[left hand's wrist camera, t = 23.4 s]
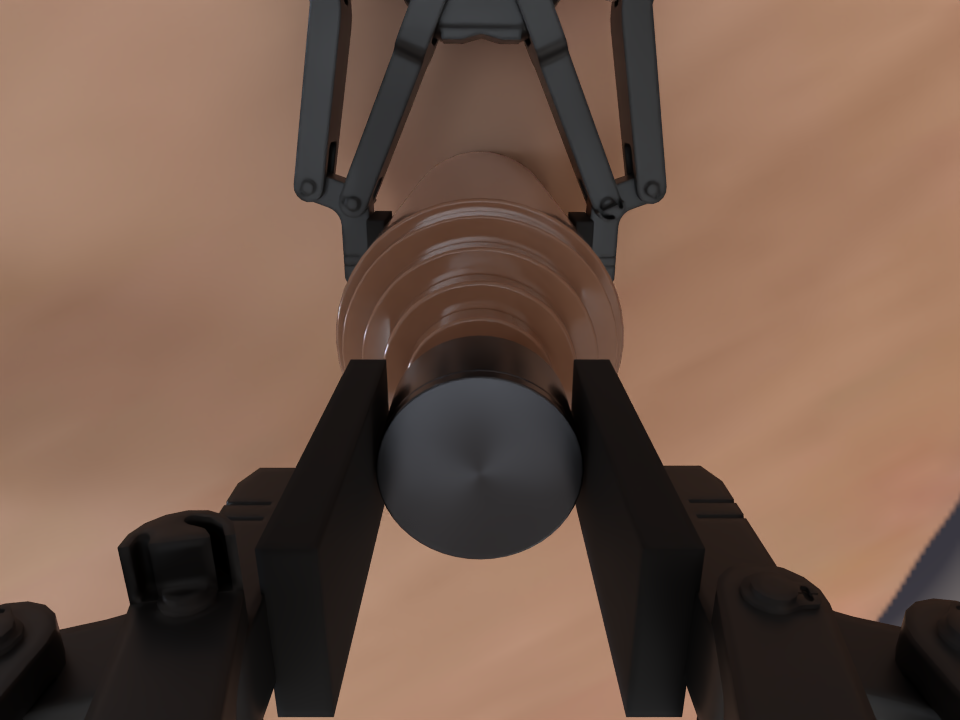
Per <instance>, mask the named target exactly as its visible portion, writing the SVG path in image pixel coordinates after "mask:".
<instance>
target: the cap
mask: <svg viewBox="0 0 960 720" xmlns="http://www.w3.org/2000/svg"><path fill="white" fill-rule="evenodd" d="M583 476H584V458H583V452H582V447H581V444H580V440H579V437H578V433H577V430H576V427H575V423H574V420H573V417H572V413H571V410H570V406H569V403H568V400H567V396H566V393H565V390H564V388H563V386H562V384H561V382H560V380H559V378H558V376H557V375H556V373H555V372H554V371H553V369H552V368H551V367H550V366H549V365H548V364H547V363H546V361H545V360H543V359H542V358H541V357H540V356H539V355H537V354H536V353H535V352H533V351H532V350H530V349H528V348H527V347H525V346H523V345H521V344H518V343H516V342H514V341H511V340H507V339H504V338H499V337H494V336H480V335H478V336H466V337H461V338H456V339H452V340H449V341H446V342H443V343H441V344H439V345H437V346H435V347H433V348H431V349H430V350H428V351H427V352H425V353H424V354H422V355H421V356H420V357H419V358H418V359H417V360H415V361H414V362H413V363H412V365H411V366H410V367H409V368H408V369H407V370H406V372H405V373H404V375H403V376H402V378H401V379H400V381H399V383H398V385H397V387H396V390H395V393H394V396H393V399H392V403H391V406H390V409H389V413H388V416H387V420H386V423H385V426H384V430H383V433H382V436H381V440H380V443H379V447H378V451H377V457H376V477H377V484H378V488H379V491H380V495H381V497H382V499H383V502H384V504H385V506H386V508H387V509H388V511H389V513H390V514H391V516H392V517H393V519H394V520H395V521H396V522H397V523H398V524H399V526H400V527H401V528H402V529H403V530H404V531H406V532H407V533H408V534H409V535H410V536H411V537H413V538H414V539H416V540H417V541H418V542H420V543H422V544H423V545H425V546H427V547H429V548H431V549H433V550H436V551H438V552H441V553H444V554H447V555H451V556H454V557H460V558H467V559H494V558H500V557H505V556H509V555H513V554H516V553H519V552H522V551H524V550H526V549H529V548H531V547H533V546H535V545H536V544H538V543H540V542H542V541H543V540H544V539H546V538H547V537H548V536H550V535H551V534H552V533H553V532H554V531H555V530H556V529H557V528H559V527H560V526H561V524H562V523H563V522H564V521H565V519H566V518H567V517H568V516H569V514H570V512H571V511H572V509H573V507H574V506H575V504H576V501H577V499H578V497H579V494H580V491H581V487H582V483H583Z"/></svg>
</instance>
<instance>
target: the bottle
mask: <svg viewBox="0 0 960 720" xmlns="http://www.w3.org/2000/svg"><path fill="white" fill-rule="evenodd" d="M623 334H624V327H623V318H622V310H621V306H620V302H619V299H618V295H617V292H616V289H615V287H614V284H613V282H612V280H611V277H610V275H609V273H608V272H607V270H606V268H605V267H604V265H603V263H602V262H601V260H600V258H599V257H598V256H597V255H596V253H595V252H594V251H593V249H592V248H591V247H590V246H589V244H588V243H587V242H586V240H585V239H584V238H583V236H582V235H581V234H580V233H579V231H578V230H577V229H576V227H575V226H574V225H573V224H572V222H571V221H570V220H569V218H568V217H567V216H566V214H565V213H564V212H563V211H562V209H561V208H560V207H559V205H558V204H557V203H556V202H555V200H554V199H553V198H552V196H551V195H550V194H549V193H548V191H547V190H546V189H545V187H544V186H543V185H542V183H541V182H540V181H539V180H538V178H537V177H536V176H535V175H534V174H533V173H532V172H531V171H530V170H529V169H528V168H526V167H525V166H523V165H522V164H521V163H519V162H517V161H515V160H514V159H512V158H509V157H507V156H504V155H501V154H497V153H492V152H482V151H479V152H468V153H463V154H459V155H456V156H453V157H450V158H448V159H446V160H444V161H442V162H441V163H439V164H438V165H436V166H435V167H433V168H432V169H431V170H430V171H429V172H428V173H427V174H426V175H425V176H424V177H423V178H422V180H421V181H420V182H419V183H418V185H417V186H416V187H415V188H414V190H413V191H412V192H411V194H410V195H409V196H408V197H407V199H406V200H405V201H404V203H403V204H402V205H401V206H400V208H399V209H398V210H397V212H396V213H395V214H394V215H393V217H392V218H391V219H390V221H389V222H388V223H387V225H386V226H385V227H384V228H383V230H382V231H381V232H380V234H379V235H378V236H377V237H376V239H375V240H374V241H373V243H372V244H371V245H370V246H369V248H368V249H367V250H366V252H365V253H364V254H363V256H362V257H361V258H360V260H359V262H358V263H357V265H356V266H355V268H354V270H353V271H352V273H351V275H350V277H349V280H348V282H347V284H346V286H345V288H344V291H343V295H342V298H341V302H340V305H339V310H338V317H337V324H336V343H337V351H338V358H339V363H340V366H341V370H342V374H343V373H344V371H345V369H346V367H347V365H348V363H349V361H350V360H351V359H386V363H387V383H388V402H389V409H390V406H391V403H392V399H393V396H394V393H395V390H396V387H397V385H398V383H399V381H400V379H401V378H402V376H403V375H404V373H405V372H406V370H407V369H408V368H409V367H410V366H411V365H412V363H413V362H414V361H415V360H417V359H418V358H419V357H420V356H421V355H422V354H424V353H425V352H427V351H428V350H430V349H431V348H433V347H435V346H437V345H439V344H441V343H443V342H446V341H449V340H452V339H456V338H461V337H466V336H478V335H480V336H494V337H499V338H504V339H507V340H511V341H514V342H516V343H518V344H521V345H523V346H525V347H527V348H528V349H530V350H532V351H533V352H535V353H536V354H537V355H539V356H540V357H541V358H542V359H543V360H545V361H546V363H547V364H548V365H549V366H550V367H551V368H552V369H553V371H554V372H555V373H556V375H557V376H558V378H559V380H560V382H561V384H562V386H563V388H564V390H565V393H566V396H567V400H568V403H569V406H570V410H571V402H572V383H573V363H574V359H610V361H611V363H612V365H613V367H614V369H615V371H616V373H618V370H619V366H620V363H621V357H622V350H623Z"/></svg>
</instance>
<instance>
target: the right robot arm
mask: <svg viewBox="0 0 960 720" xmlns="http://www.w3.org/2000/svg"><path fill="white" fill-rule="evenodd" d="M404 1H405V3H406V4H407V6H408V9H407V11H406V14H405V17H404V19H403V22H402V25H401V28H400V30H399V33H398V36H397V39H396V42H395V47H394V51H393V54H392V57H391V60H390V62H389V65H388V68H387V70H386V73H385V76H384V78H383V81H382V84H381V86H380V89H379V92H378V94H377V97H376V100H375V103H374V105H373V108H372V111H371V113H370V116H369V119H368V121H367V124H366V127H365V129H364V132H363V135H362V137H361V140H360V143H359V145H358V148H357V151H356V154H355V156H354V159H353V162H352V164H351V167H350V170H349V172H348V175H347V178H344V177H342V176H339V175H336V174H335V173H336V164H337V155H338V145H339V136H340V127H341V118H342V109H343V100H344V91H345V82H346V72H347V63H348V54H349V45H350V36H351V24H352V9H351V0H310V9H309V20H308V31H307V42H306V53H305V65H304V76H303V87H302V98H301V109H300V121H299V132H298V143H297V154H296V166H295V177H294V191H295V193H296V195H297V196H298V197H299V198H300V199H301V200H303V201H306V202H315V203H318V204H321V205H323V206H326V207H329V208H331V209H333V210H334V211H335V212H336V213H337V214H338V216H339V217H340V219H341V223H342V235H343V251H344V264H345V278H346V281H347V282H348V280H349V277H350V275H351V273H352V271H353V270H354V268H355V266H356V265H357V263H358V262H359V260H360V258H361V257H362V256H363V254H364V253H365V252H366V250H367V249H368V248H369V246H370V245H371V244H372V243H373V241H374V240H375V239H376V237H377V236H378V235H379V234H380V232H381V231H382V230H383V228H384V227H385V226H386V225H387V223H388V222H389V221H390V219H391V218H392V211H375V212H374V203H375V202H376V196H377V194H378V191H379V189H380V186H381V184H382V181H383V178H384V176H385V173H386V171H387V168H388V166H389V163H390V161H391V158H392V155H393V153H394V150H395V148H396V145H397V143H398V140H399V138H400V135H401V132H402V130H403V127H404V125H405V122H406V120H407V117H408V115H409V112H410V109H411V107H412V104H413V102H414V99H415V97H416V94H417V92H418V89H419V86H420V84H421V81H422V79H423V76H424V74H425V71H426V69H427V66H428V65H429V63H430V61H431V58H432V56H433V53H434V51H435V48H436V46H437V43H438V41H439V40H440V41H443V43H444V44H463V43H467V42H470V41H473V40H477V39H485V40H489V41H492V42H495V43H499V44H519V42H521V41H524V43H525V46H526V48H527V51H528V53H529V56H530V59H531V61H532V63H533V65H534V67H535V69H536V72H537V74H538V77H539V80H540V82H541V85H542V88H543V90H544V93H545V96H546V98H547V101H548V103H549V106H550V109H551V111H552V114H553V117H554V119H555V122H556V125H557V127H558V130H559V133H560V135H561V138H562V140H563V143H564V146H565V148H566V151H567V154H568V156H569V159H570V162H571V164H572V167H573V170H574V172H575V175H576V178H577V180H578V183H579V185H580V188H581V191H582V193H583V196H584V199H585V201H586V204H587V206H586V213H585V212H569V213H568V218H569V220H570V221H571V222H572V224H573V225H574V226H575V227H576V229H577V230H578V231H579V233H580V234H581V235H582V236H583V238H584V239H585V240H586V242H587V243H588V244H589V246H590V247H591V248H592V249H593V251H594V252H595V253H596V255H597V256H598V257H599V258H600V260H601V262H602V263H603V265H604V267H605V268H606V270H607V272H608V273H609V275H610V277H611V280H612V282H613V281H614V274H615V261H616V248H617V235H618V225H619V221H620V219H621V217H622V216H623V215H624V214H625V213H626V212H627V211H629V210H631V209H633V208H636V207H639V206H642V205H644V204H654V203H657V202H659V201H660V200H661V199H662V198H663V197H664V195H665V193H666V187H667V186H666V173H665V160H664V147H663V134H662V122H661V109H660V96H659V83H658V70H657V57H656V44H655V31H654V18H653V5H652V4H653V0H607V1H609V2H612V5H611V18H610V20H611V36H612V47H613V57H614V67H615V77H616V87H617V98H618V108H619V118H620V128H621V139H622V149H623V159H624V169H625V176H623V177H620V178H618V179H615V180H614V177H613V174H612V171H611V169H610V166H609V163H608V160H607V157H606V155H605V152H604V149H603V146H602V143H601V141H600V138H599V135H598V132H597V130H596V127H595V124H594V121H593V118H592V116H591V113H590V110H589V107H588V105H587V102H586V99H585V96H584V93H583V91H582V88H581V85H580V82H579V79H578V77H577V74H576V71H575V68H574V66H573V63H572V60H571V57H570V54H569V51H568V46H567V41H566V38H565V35H564V32H563V30H562V27H561V24H560V21H559V18H558V16H557V13H556V10H555V7H556V5H557V4H558V2H559V1H560V0H404Z"/></svg>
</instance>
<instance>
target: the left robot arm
mask: <svg viewBox="0 0 960 720" xmlns="http://www.w3.org/2000/svg"><path fill="white" fill-rule="evenodd" d="M388 413H389V402H388V383H387V363H386V359H351V360H350V361H349V363H348V365H347V367H346V369H345V371H344V373H343V375H342V377H341V379H340V381H339V383H338V385H337V387H336V389H335V391H334V393H333V395H332V397H331V399H330V401H329V403H328V405H327V407H326V409H325V411H324V413H323V415H322V417H321V419H320V421H319V423H318V425H317V427H316V429H315V431H314V433H313V435H312V436H311V438H310V440H309V442H308V444H307V446H306V448H305V450H304V452H303V454H302V456H301V458H300V460H299V462H298V464H297V466H296V468H259V469H258V470H256V471H255V472H254V473H252V474H251V475H249V476H248V477H247V478H245V479H244V480H242V481H241V482H240V483H238V484H237V486H236V488H235V489H234V491H233V492H232V494H231V495H230V497H229V499H228V500H227V504H226V505H224V506H223V508H222V510H221V511H220V513H216V512H212V511H209V510H188V511H183V512H178V513H173V514H168V515H165V516H162V517H160V518H157V519H155V520H152V521H150V522H147V523H145V524H143V525H142V526H140V527H139V528H137V529H136V530H134V531H133V532H131V533H130V534H128V535H127V537H126V538H125V539H124V540H123V541H122V543H121V544H120V545H119V546H118V552H119V557H120V561H121V566H122V570H123V574H124V579H125V583H126V588H127V592H128V597H129V601H130V606H129V609H128V611H127V614H124V615H121V616H117V617H114V618H110V619H107V620H102V621H98V622H93V623H89V624H84V625H79V626H75V627H70V628H66V629H61V630H59V626H58V623H57V619H56V615H55V613H54V612H53V611H52V610H50V609H49V608H48V607H47V606H46V605H43V604H38V603H33V602H28V601H27V602H17V603H7V604H2V605H0V720H263V717H264V714H265V711H266V709H267V706H268V703H269V700H270V697H271V694H272V692H273V689H274V692H275V699H276V706H277V713H278V717H334V714H335V710H336V705H337V701H338V697H339V693H340V689H341V684H342V680H343V676H344V672H345V668H346V664H347V659H348V655H349V651H350V647H351V643H352V638H353V634H354V630H355V626H356V622H357V617H358V613H359V609H360V605H361V601H362V596H363V592H364V588H365V584H366V580H367V576H368V571H369V567H370V563H371V559H372V555H373V550H374V546H375V542H376V538H377V534H378V529H379V525H380V521H381V517H382V513H383V508H384V502H383V499H382V497H381V495H380V491H379V488H378V484H377V477H376V457H377V451H378V447H379V443H380V440H381V436H382V433H383V430H384V426H385V423H386V420H387V416H388ZM571 413H572V417H573V420H574V423H575V427H576V430H577V433H578V437H579V440H580V444H581V447H582V452H583V458H584V476H583V483H582V487H581V491H580V494H579V497H578V499H577V501H576V508H577V513H578V517H579V521H580V525H581V529H582V534H583V538H584V542H585V546H586V550H587V555H588V559H589V563H590V567H591V571H592V575H593V580H594V584H595V588H596V592H597V596H598V601H599V605H600V609H601V613H602V617H603V622H604V626H605V630H606V634H607V638H608V643H609V647H610V651H611V655H612V659H613V664H614V668H615V672H616V676H617V680H618V684H619V689H620V693H621V697H622V701H623V705H624V710H625V714H626V717H682V713H683V706H684V699H685V692H686V685H687V688H688V691H689V694H690V697H691V700H692V702H693V705H694V708H695V711H696V714H697V720H960V602H958V601H953V600H943V599H928V600H923V601H918V602H915V603H914V604H913V605H912V606H910V607H909V608H908V609H907V610H906V612H905V615H904V619H903V623H902V626H901V627H899V626H894V625H889V624H885V623H880V622H875V621H871V620H866V619H862V618H857V617H853V616H849V615H846V614H842V613H839V612H835V611H833V610H832V608H831V605H830V603H829V602H828V600H827V599H826V597H825V596H824V595H823V593H822V592H821V590H820V589H819V588H817V587H816V586H815V585H813V584H812V583H811V582H809V581H808V580H807V579H805V578H804V577H802V576H800V575H798V574H796V573H793V572H791V571H789V570H787V569H785V568H781V567H777V566H776V564H775V563H774V561H773V560H772V558H771V557H770V555H769V553H768V552H767V550H766V549H765V547H764V546H763V544H762V543H761V541H760V539H759V538H758V536H757V535H756V533H755V532H754V530H753V528H752V527H751V525H750V524H749V522H748V521H747V519H746V518H744V517H743V515H744V514H743V513H742V511H741V510H740V508H739V507H738V505H737V504H736V503H734V499H733V497H732V496H731V494H730V493H729V491H728V490H727V488H726V486H725V485H724V483H723V482H722V481H721V480H720V479H718V478H717V477H715V476H714V475H713V474H711V473H710V472H708V471H707V470H706V469H704V468H703V467H701V466H663V464H662V462H661V460H660V458H659V456H658V454H657V452H656V450H655V448H654V446H653V444H652V442H651V440H650V438H649V436H648V434H647V433H646V431H645V429H644V427H643V425H642V423H641V421H640V419H639V417H638V415H637V413H636V411H635V409H634V407H633V405H632V403H631V401H630V399H629V397H628V395H627V393H626V391H625V389H624V387H623V385H622V383H621V381H620V379H619V377H618V375H617V373H616V371H615V369H614V367H613V365H612V363H611V361H610V359H574V363H573V383H572V402H571Z"/></svg>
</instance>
